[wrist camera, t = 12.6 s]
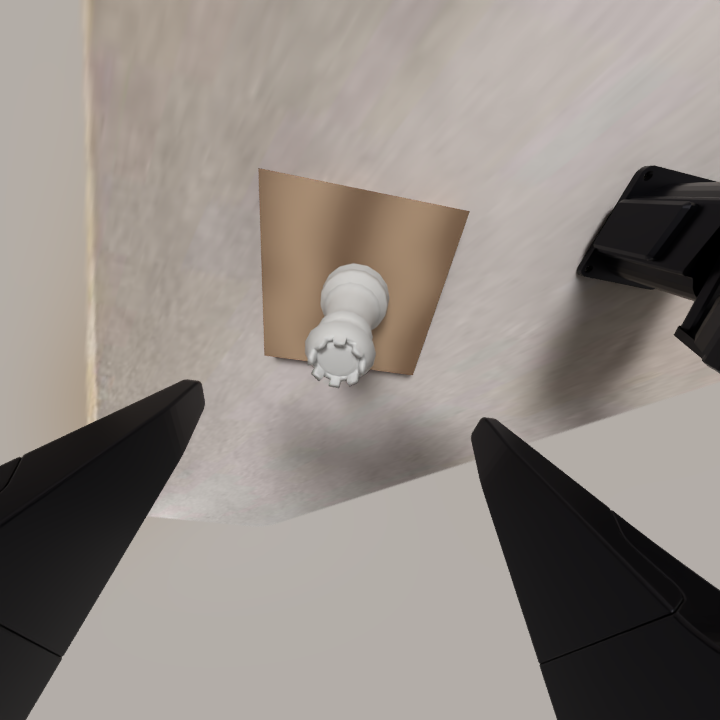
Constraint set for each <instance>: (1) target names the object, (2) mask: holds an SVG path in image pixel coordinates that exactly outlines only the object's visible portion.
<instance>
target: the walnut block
mask: <svg viewBox="0 0 720 720" xmlns="http://www.w3.org/2000/svg"><path fill="white" fill-rule="evenodd" d="M259 198H260V229H261V260H262V291H263V322H264V353H265V356H273V357H280V358H288V359H295V360H303V361H308V359H307V356H306V354H305V341H306V339H307V337H308V335H309V333H310V332H311V330H313V329H314V328H316V327H317V326H318V325H319V324H320V322H321V320H322V319H323V318H324V314H323V311H322V308H321V291H322V289H323V285H324V283H325V282H326V280H327V278H328V276H329V274H331V273H332V272H333V271H335V270H336V269H337V268H338V267H340V266H344V265H348V264H353V263H354V264H360V265H365V266H368V267H370V268H371V269H373V270H375V271H376V272H378V273H379V274H380V275H381V277H382V278H383V280H384V281H385V283H386V284H387V287H388V292H389V302H388V307H387V312H386V316H385V317H384V318H383V320H382V321H381V322H380V324H379V325H378V326H377V327H376V328H374V329H373V330H371V332H372V336H373V338H372V341H373V344H374V348H375V352H376V355H375V360H374V364H373V366H372V367H371V368H370V370H377V371H385V372H392V373H400V374H407V375H413V373H414V370H415V367H416V364H417V361H418V358H419V355H420V353H421V350H422V347H423V344H424V341H425V338H426V335H427V332H428V330H429V327H430V324H431V321H432V318H433V315H434V312H435V309H436V307H437V304H438V301H439V298H440V295H441V292H442V289H443V286H444V284H445V281H446V278H447V275H448V272H449V269H450V266H451V263H452V261H453V258H454V255H455V252H456V249H457V246H458V243H459V240H460V238H461V235H462V232H463V229H464V226H465V223H466V220H467V217H468V215H469V212H470V211H465V210H460V209H455V208H450V207H446V206H441V205H436V204H431V203H426V202H421V201H416V200H411V199H406V198H402V197H397V196H392V195H387V194H382V193H377V192H372V191H367V190H362V189H358V188H353V187H348V186H343V185H338V184H333V183H328V182H323V181H318V180H314V179H309V178H304V177H299V176H294V175H289V174H284V173H279V172H275V171H270V170H265V169H260V168H259Z"/></svg>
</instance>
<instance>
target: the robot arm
mask: <svg viewBox="0 0 720 720" xmlns="http://www.w3.org/2000/svg"><path fill="white" fill-rule="evenodd" d="M646 173H647V175H646V177H645V179H643V177H644V175H645V174H646ZM588 266H589V267H588ZM587 267H588V269H587V270H586V271H585V269H586V268H587ZM577 272H578V274H580V275H582V276H585V277H590V278H595V279H600V280H605V281H610V282H615V283H620V284H625V285H630V286H635V287H640V288H645V289H650V290H653V289H658V290H661V291H665V292H668V293H671V294H674V295H677V296H680V297H683V298H686V299H689V300H692V301H694V303H693V305H692V307H691V309H690V311H689V313H688V314H687V316H686V318H685V320H684V322H683V324H682V325H681V326H678V328H677V330H676V332H675V334H674V336H675V337H677V338H678V339H679V340H680V341H681V342H683V343H684V344H685V345H686V346H687V347H689V348H690V349H691V350H692V351H693V352H695V353H696V354H697V355H698V356H699V357H701V358H702V361H703V362H704V363H705V364H706V365H707V366H709V367H710V368H712V369H714V370H715V371H717V372H718V373H720V182H716V181H712V180H708V179H704V178H700V177H697V176H693V175H689V174H685V173H681V172H677V171H674V170H670V169H666V168H662V167H658V166H645V167H642V168H641V169H639V170H638V171H637V172H636V174H635V175H634V177H633V178H632V180H631V182H630V183H629V185H628V187H627V188H626V190H625V191H624V193H623V195H622V196H621V198H620V200H619V201H618V203H617V205H616V206H615V208H614V209H613V211H612V213H611V214H610V216H609V218H608V219H607V221H606V223H605V224H604V226H603V227H602V229H601V231H600V232H599V234H598V236H597V237H596V239H595V240H594V242H593V244H592V245H591V247H590V249H589V250H588V252H587V254H586V255H585V257H584V258H583V260H582V262H581V263H580V265H579V267H578V269H577ZM204 406H205V399H204V393H203V388H202V384H201V382H199V381H196V380H188V379H187V380H182V381H180V382H178V383H176V384H174V385H172V386H170V387H167V388H165V389H163V390H161V391H159V392H157V393H155V394H152V395H150V396H148V397H146V398H144V399H142V400H140V401H138V402H135V403H133V404H131V405H129V406H127V407H125V408H123V409H120V410H118V411H116V412H114V413H112V414H110V415H108V416H106V417H103V418H101V419H99V420H97V421H95V422H93V423H91V424H88V425H86V426H84V427H82V428H80V429H78V430H76V431H73V432H71V433H69V434H67V435H65V436H63V437H61V438H59V439H57V440H54V441H52V442H50V443H48V444H46V445H44V446H41V447H39V448H37V449H35V450H33V451H31V452H29V453H27V454H25V455H23V457H22V458H21V457H18V458H16V459H14V460H12V461H9V462H7V463H5V464H3V465H1V466H0V720H26V719H27V717H28V715H29V714H30V712H31V710H32V708H33V707H34V705H35V703H36V702H37V700H38V698H39V697H40V695H41V693H42V692H43V690H44V688H45V687H46V685H47V683H48V682H49V680H50V678H51V677H52V675H53V673H54V671H55V670H56V668H57V666H58V665H59V663H60V661H61V659H62V656H63V655H64V654H65V652H66V651H67V649H68V647H69V646H70V644H71V642H72V641H73V639H74V637H75V636H76V634H77V632H78V631H79V629H80V627H81V626H82V624H83V622H84V621H85V619H86V617H87V615H88V614H89V612H90V610H91V609H92V607H93V605H94V604H95V602H96V600H97V599H98V597H99V595H100V594H101V592H102V590H103V588H104V587H105V585H106V583H107V582H108V580H109V578H110V576H111V575H112V573H113V572H114V570H115V568H116V567H117V565H118V563H119V561H120V560H121V558H122V557H123V555H124V553H125V551H126V550H127V548H128V547H129V544H130V543H131V541H132V540H133V538H134V536H135V535H136V533H137V531H138V530H139V528H140V526H141V525H142V523H143V521H144V519H145V518H146V516H147V515H148V513H149V511H150V510H151V508H152V506H153V504H154V503H155V501H156V499H157V498H158V496H159V494H160V493H161V491H162V489H163V488H164V486H165V484H166V483H167V481H168V479H169V478H170V476H171V474H172V473H173V471H174V469H175V467H176V466H177V464H178V462H179V461H180V459H181V457H182V455H183V453H184V451H185V449H186V447H187V445H188V443H189V440H190V438H191V436H192V434H193V432H194V429H195V427H196V425H197V423H198V421H199V418H200V416H201V414H202V412H203V409H204ZM471 442H472V446H473V451H474V455H475V460H476V464H477V469H478V474H479V478H480V482H481V485H482V489H483V492H484V495H485V498H486V502H487V504H488V508H489V511H490V514H491V517H492V520H493V523H494V526H495V529H496V532H497V535H498V538H499V542H500V545H501V547H502V551H503V554H504V557H505V560H506V563H507V566H508V569H509V572H510V575H511V578H512V581H513V585H514V588H515V591H516V594H517V597H518V600H519V603H520V606H521V609H522V612H523V615H524V618H525V621H526V625H527V628H528V631H529V634H530V637H531V640H532V643H533V646H534V649H535V652H536V655H537V659H538V662H539V663H540V668H541V671H542V675H543V678H544V681H545V684H546V687H547V690H548V693H549V696H550V699H551V702H552V705H553V708H554V711H555V714H556V718H557V720H720V590H719V589H717V588H716V587H714V586H713V585H712V584H710V583H709V582H708V581H706V580H705V579H703V578H702V577H701V576H699V575H698V574H696V573H695V572H694V571H692V570H691V569H690V568H688V567H687V566H685V565H684V564H683V563H681V562H680V561H679V560H677V559H676V558H674V557H673V556H672V555H670V554H669V553H668V552H666V551H665V550H663V549H662V548H661V547H659V546H658V545H657V544H655V543H654V542H653V541H651V540H650V539H649V538H647V537H646V536H645V535H643V534H642V533H641V532H640V531H638V530H637V529H635V528H634V527H633V526H632V525H630V524H629V523H628V522H626V521H625V520H624V519H623V518H621V517H620V516H619V515H617V514H616V513H615V512H614V511H612V510H610V509H609V507H607V506H606V505H605V504H604V503H602V502H601V501H599V500H598V499H597V498H596V497H595V496H593V495H592V494H591V493H589V492H588V491H587V490H586V489H584V488H583V487H582V486H580V485H579V484H578V483H577V482H575V481H574V480H573V479H572V478H570V477H569V476H568V475H566V474H565V473H564V472H563V471H561V470H560V469H559V468H557V467H556V466H555V465H554V464H552V463H551V462H550V461H549V460H547V459H546V458H545V457H543V456H542V455H541V454H540V453H538V452H537V451H536V450H535V449H533V448H532V447H531V446H529V445H528V444H527V443H526V442H524V441H523V440H522V439H521V438H519V437H518V436H517V435H515V434H514V433H513V432H512V431H510V430H509V429H508V428H506V427H505V426H504V425H503V424H501V423H500V422H499V421H498V420H496V419H494V418H486V417H484V418H482V419H480V421H479V422H478V424H477V426H476V427H475V429H474V431H473V433H472V435H471Z"/></svg>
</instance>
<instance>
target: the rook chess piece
mask: <svg viewBox="0 0 720 720" xmlns="http://www.w3.org/2000/svg"><path fill="white" fill-rule="evenodd" d="M388 302H389V292H388V287H387V284H386V283H385V281H384V280H383V278H382V277H381V275H380V274H379V273H378V272H376V271H375V270H373V269H371V268H370V267H368V266H365V265H360V264H354V263H353V264H348V265H344V266H340V267H338V268H337V269H336V270H335V271H333V272H332V273H331V274H329V276H328V278H327V280H326V282H325V283H324V285H323V289H322V291H321V308H322V311H323V314H324V318H323V319H322V320H321V322H320V324H319V325H318V326H317V327H316V328H314V329H313V330H311V332H310V333H309V335H308V337H307V339H306V341H305V354H306V356H307V359H308V365H311V366H312V367H313V368H314V369H313V371H312V375H313V376H314V377H315V378H316V379H317V380H318V381H320V380H321V379H322V378H323V376H324V377H326V378H328V379H330V383H329V386H330V387H336V388H339V387H340V383H341V381H347V383H348V385H349V387H350V386H352V385H354V384H356V383H358V381H359V377H361V376H363V375H365V374H366V373H367V372H368V371H369V370H370V368H371V367H372V366H373V364H374V360H375V355H376V352H375V348H374V344H373V341H372V338H373V336H372V332H371V330H373V329H374V328H376V327H377V326H378V325H379V324H380V322H381V321H382V320H383V318H384V317H385V316H386V312H387V307H388Z"/></svg>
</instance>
